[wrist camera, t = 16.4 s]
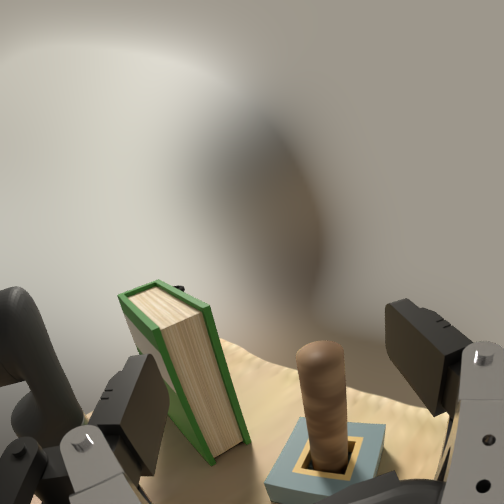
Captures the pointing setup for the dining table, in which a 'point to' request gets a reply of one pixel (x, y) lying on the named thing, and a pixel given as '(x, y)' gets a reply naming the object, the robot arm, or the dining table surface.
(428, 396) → the robot arm
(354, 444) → the socket block
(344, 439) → the peg
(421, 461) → the dining table surface
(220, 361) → the hardback book
